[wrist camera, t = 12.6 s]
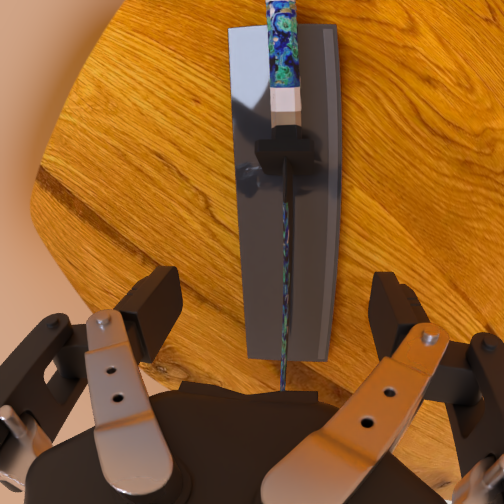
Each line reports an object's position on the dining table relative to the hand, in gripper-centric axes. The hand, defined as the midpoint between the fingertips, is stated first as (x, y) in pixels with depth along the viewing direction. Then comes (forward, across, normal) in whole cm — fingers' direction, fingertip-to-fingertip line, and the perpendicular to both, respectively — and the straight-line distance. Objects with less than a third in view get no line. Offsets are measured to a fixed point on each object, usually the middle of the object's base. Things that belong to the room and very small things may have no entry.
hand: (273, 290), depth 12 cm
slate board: (+11, 0, 0) cm, 11 cm away
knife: (+9, 0, 0) cm, 9 cm away
